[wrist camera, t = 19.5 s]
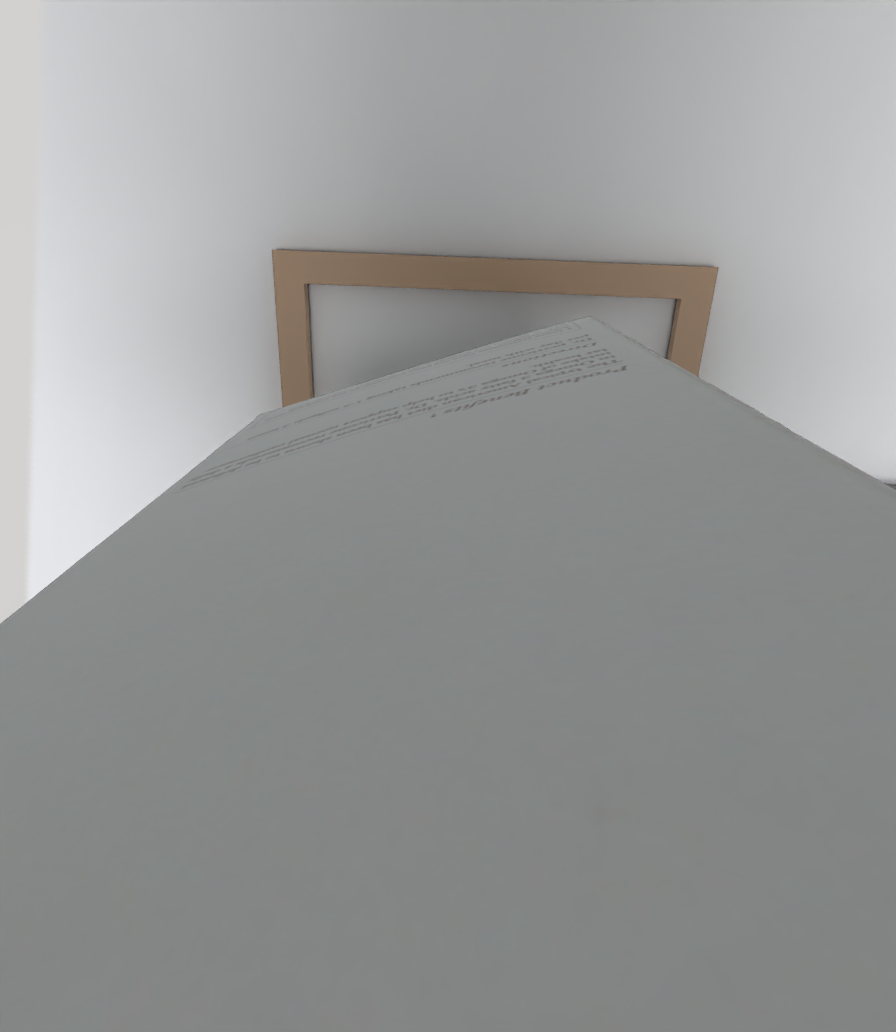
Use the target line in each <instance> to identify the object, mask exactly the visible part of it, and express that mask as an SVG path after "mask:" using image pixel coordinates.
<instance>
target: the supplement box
mask: <svg viewBox="0 0 896 1032" xmlns="http://www.w3.org/2000/svg"><path fill="white" fill-rule="evenodd" d="M0 1032H896V490H894V489H893V488H891V487H889V486H887V485H886V484H884V483H882V482H880V481H879V480H877V479H875V478H873V477H872V476H870V475H868V474H866V473H865V472H863V471H861V470H859V469H858V468H856V467H854V466H852V465H851V464H849V463H847V462H845V461H844V460H842V459H840V458H838V457H837V456H835V455H833V454H831V453H829V452H828V451H826V450H824V449H822V448H821V447H819V446H817V445H815V444H813V443H812V442H810V441H808V440H806V439H805V438H803V437H801V436H799V435H797V434H796V433H794V432H792V431H791V430H789V429H788V428H786V427H784V426H783V425H781V424H780V423H778V422H776V421H774V420H772V419H770V418H768V417H766V416H765V415H763V414H762V413H760V412H758V411H757V410H755V409H754V408H752V407H750V406H748V405H746V404H745V403H743V402H741V401H739V400H737V399H735V398H734V397H732V396H730V395H728V394H726V393H725V392H723V391H722V390H720V389H718V388H717V387H715V386H713V385H711V384H709V383H707V382H705V381H704V380H702V379H700V378H699V377H697V376H695V375H694V374H692V373H690V372H689V371H687V370H685V369H683V368H681V367H680V366H678V365H676V364H675V363H673V362H671V361H669V360H667V359H665V358H663V357H661V356H660V355H658V354H656V353H655V352H653V351H652V350H649V349H647V348H646V347H644V346H643V345H641V344H639V343H637V342H635V341H634V340H632V339H630V338H628V337H626V336H625V335H623V334H621V333H620V332H618V331H616V330H614V329H612V328H610V327H609V326H607V325H605V324H604V323H602V322H600V321H598V320H596V319H595V318H593V317H585V318H581V319H577V320H573V321H569V322H566V323H562V324H558V325H555V326H551V327H547V328H544V329H540V330H536V331H533V332H529V333H525V334H522V335H518V336H515V337H512V338H508V339H505V340H502V341H498V342H495V343H491V344H488V345H485V346H481V347H478V348H475V349H471V350H468V351H464V352H461V353H458V354H455V355H451V356H448V357H445V358H442V359H438V360H435V361H432V362H428V363H425V364H422V365H419V366H415V367H412V368H409V369H406V370H402V371H399V372H396V373H393V374H389V375H386V376H383V377H380V378H376V379H373V380H370V381H367V382H363V383H360V384H357V385H354V386H350V387H347V388H344V389H341V390H337V391H334V392H331V393H328V394H324V395H321V396H318V397H315V398H311V399H308V400H305V401H302V402H299V403H295V404H292V405H289V406H286V407H283V408H280V409H277V410H273V411H270V412H266V413H262V414H260V415H258V416H257V417H256V419H255V420H254V421H252V422H251V423H250V424H249V425H247V426H246V427H245V428H244V429H242V430H241V431H240V432H239V433H237V434H236V435H235V436H234V437H232V438H231V439H230V440H228V441H227V442H226V443H224V444H223V445H222V446H221V447H219V448H218V449H217V450H215V451H214V452H213V453H212V454H211V455H210V456H209V457H207V458H206V459H205V460H204V461H202V462H201V463H200V464H199V465H197V466H196V467H195V468H194V469H192V470H191V471H190V472H189V473H188V474H187V475H185V476H184V477H183V478H182V479H180V480H179V481H178V482H176V483H175V484H174V485H173V486H171V487H170V488H169V489H168V490H166V491H165V492H164V493H163V494H161V495H160V496H159V497H158V498H156V499H155V500H154V501H153V502H151V503H150V504H149V505H148V506H146V507H145V508H144V509H143V510H141V511H140V512H139V513H138V514H136V515H135V516H134V517H133V518H132V519H130V520H129V521H128V522H127V523H125V524H124V525H123V526H122V527H120V528H119V529H118V530H117V531H115V532H114V533H113V534H112V535H110V536H109V537H108V538H106V539H105V540H104V541H103V542H101V543H100V544H99V545H98V546H96V547H95V548H94V549H93V550H91V551H90V552H89V553H88V554H86V555H85V556H84V557H83V558H81V559H80V560H79V561H78V562H76V563H75V564H74V565H73V566H71V567H70V568H69V569H68V570H66V571H65V572H64V573H63V574H62V575H60V576H59V577H58V578H57V579H55V580H54V581H53V582H52V583H50V584H49V585H48V586H47V587H45V588H44V589H43V590H42V591H41V592H39V593H38V594H37V595H36V596H34V597H33V598H32V599H31V600H29V601H28V602H27V603H26V604H25V605H23V606H22V607H21V608H20V609H18V610H17V611H16V612H15V613H13V614H12V615H11V616H10V617H8V618H7V619H6V620H4V621H3V622H2V623H1V624H0Z"/></svg>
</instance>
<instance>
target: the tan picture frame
mask: <svg viewBox="0 0 896 1032" xmlns="http://www.w3.org/2000/svg"><path fill="white" fill-rule="evenodd" d="M272 257H273V272H274V286H275V301H276V315H277V330H278V344H279V359H280V373H281V388H282V402H283V407H286V406H289V405H292V404H295V403H299V402H302V401H305V400H308V399H311V398H313V382H312V362H311V342H310V321H309V301H308V284H328V285H353V286H377V287H402V288H426V289H451V290H475V291H500V292H524V293H549V294H573V295H598V296H622V297H647V298H671V299H677V302H676V308H675V313H674V319H673V325H672V331H671V337H670V343H669V349H668V355H667V360H669V361H671V362H673V363H675V364H676V365H678V366H680V367H681V368H683V369H685V370H687V371H689V372H690V373H692V374H694V375H695V376H697V377H698V372H699V367H700V362H701V356H702V351H703V346H704V341H705V336H706V330H707V325H708V320H709V315H710V309H711V304H712V299H713V294H714V288H715V283H716V278H717V273H718V267H704V266H679V265H653V264H628V263H602V262H577V261H552V260H526V259H501V258H475V257H450V256H424V255H399V254H374V253H348V252H323V251H297V250H272Z"/></svg>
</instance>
